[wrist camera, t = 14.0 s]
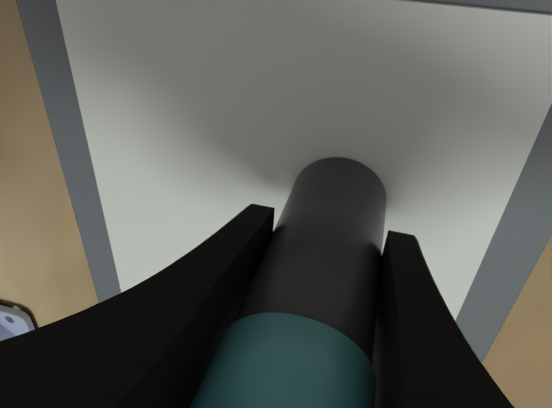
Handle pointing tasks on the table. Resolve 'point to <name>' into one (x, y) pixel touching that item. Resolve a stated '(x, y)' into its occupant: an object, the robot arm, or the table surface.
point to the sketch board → (305, 126)
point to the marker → (309, 301)
